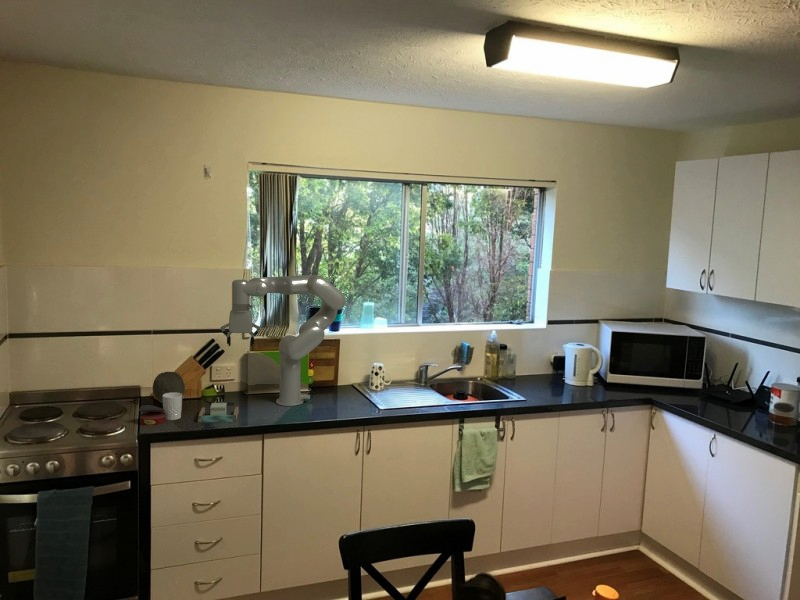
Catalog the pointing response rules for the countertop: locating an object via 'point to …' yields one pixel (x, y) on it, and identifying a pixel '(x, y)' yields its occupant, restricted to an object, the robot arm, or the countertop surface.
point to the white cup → (172, 405)
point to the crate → (218, 409)
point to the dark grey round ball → (167, 384)
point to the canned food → (152, 415)
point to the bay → (217, 417)
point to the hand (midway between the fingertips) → (240, 345)
